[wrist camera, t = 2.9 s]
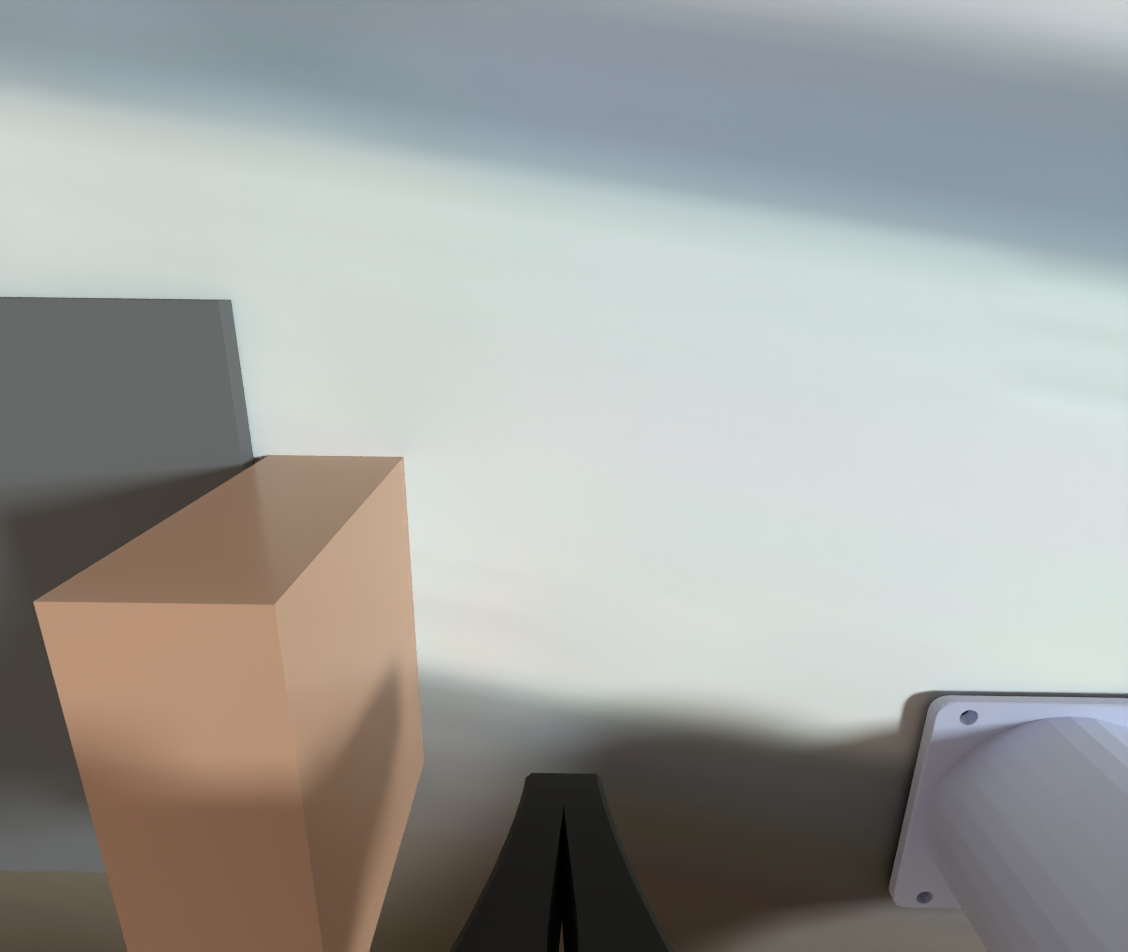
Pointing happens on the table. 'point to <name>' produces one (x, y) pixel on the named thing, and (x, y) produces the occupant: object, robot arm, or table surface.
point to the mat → (92, 506)
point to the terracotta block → (249, 708)
